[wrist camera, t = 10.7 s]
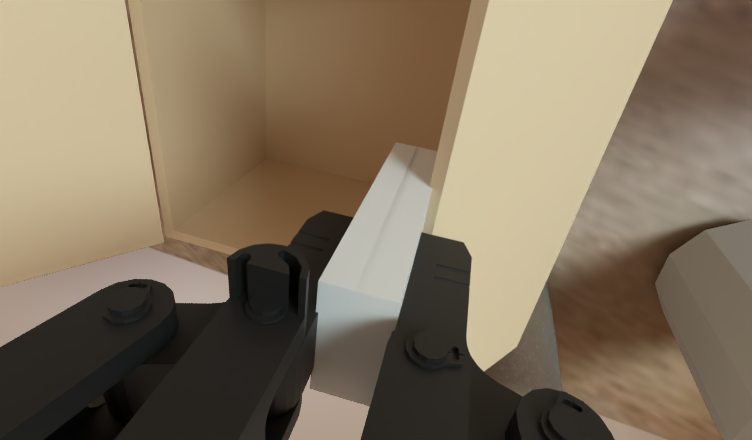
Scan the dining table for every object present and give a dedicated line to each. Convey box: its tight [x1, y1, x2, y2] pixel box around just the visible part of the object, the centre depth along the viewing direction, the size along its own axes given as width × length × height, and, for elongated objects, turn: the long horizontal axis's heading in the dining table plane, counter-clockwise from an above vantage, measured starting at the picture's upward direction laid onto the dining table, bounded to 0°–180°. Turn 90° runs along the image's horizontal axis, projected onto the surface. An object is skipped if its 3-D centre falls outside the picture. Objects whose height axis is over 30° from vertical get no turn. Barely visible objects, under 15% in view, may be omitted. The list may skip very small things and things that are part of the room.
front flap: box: [423, 0, 673, 371], centre depth 13 cm, size 9×19×1 cm
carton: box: [128, 0, 471, 255], centre depth 23 cm, size 20×19×12 cm
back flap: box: [0, 0, 164, 287], centre depth 16 cm, size 9×19×1 cm
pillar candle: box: [484, 281, 562, 396], centre depth 29 cm, size 10×10×15 cm
